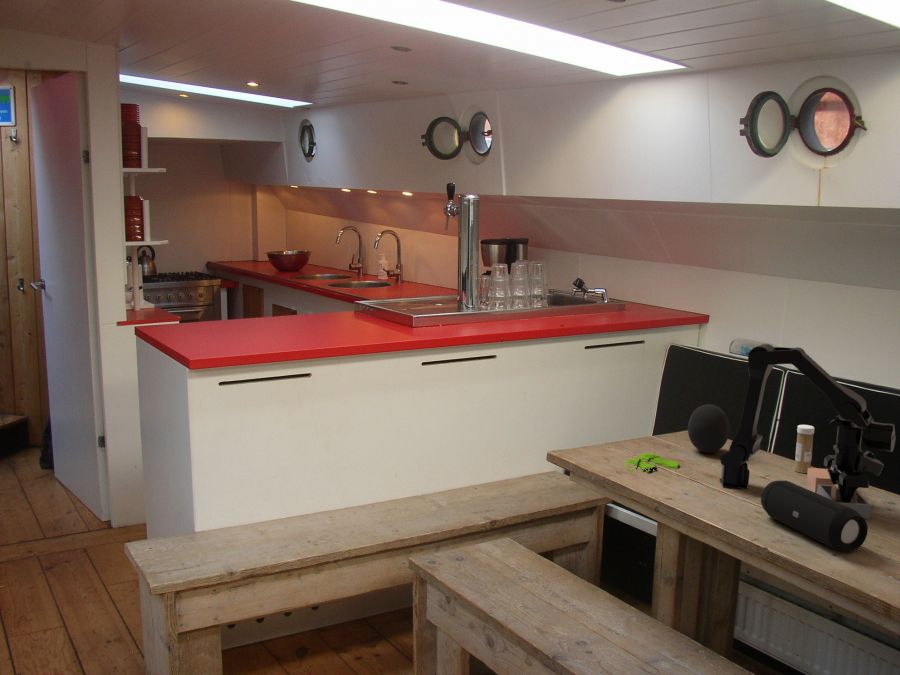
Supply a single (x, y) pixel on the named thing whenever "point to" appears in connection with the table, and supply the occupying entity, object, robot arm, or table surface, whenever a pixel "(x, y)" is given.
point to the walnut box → (836, 495)
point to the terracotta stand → (817, 478)
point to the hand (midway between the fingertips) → (842, 503)
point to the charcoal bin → (860, 506)
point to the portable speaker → (815, 515)
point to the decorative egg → (708, 428)
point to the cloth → (655, 460)
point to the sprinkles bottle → (804, 448)
